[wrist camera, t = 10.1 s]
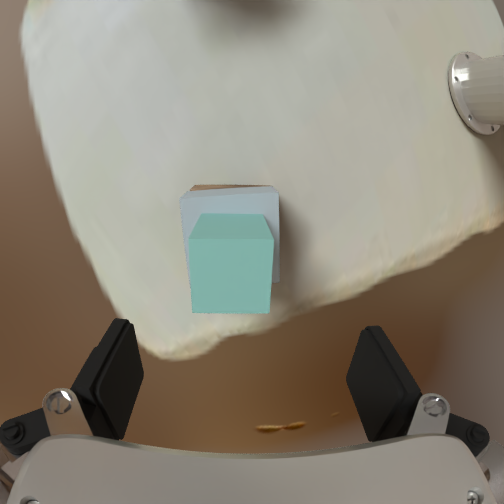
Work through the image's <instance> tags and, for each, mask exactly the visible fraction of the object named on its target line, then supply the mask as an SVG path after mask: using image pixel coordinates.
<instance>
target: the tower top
mask: <svg viewBox="0 0 504 504" xmlns="http://www.w3.org/2000/svg"><path fill="white" fill-rule="evenodd" d="M179 199H180V209H181V219H182V228H183V237H184V245H185V253H186V261H187V269H188V276H189V283H190V266H189V243H188V238H189V236H190V234H191V232H192V230H193V228H194V227H195V225H196V223H197V221H198V219H199V217H200V215H201V213H216V214H263V216H264V218H265V220H266V223H267V225H268V227H269V229H270V232H271V234H272V236H273V238H274V249H273V266H272V282H271V283H279V282H280V245H279V192H278V191H277V190H276V189H275V188H274V187H273V186H262V187H241V188H225V189H210V190H197V191H187V192H186V193H185V194H184V195H183V196H182V197H181V198H179ZM190 288H191V284H190Z"/></svg>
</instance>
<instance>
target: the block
mask: <svg viewBox="0 0 504 504" xmlns="http://www.w3.org/2000/svg"><path fill="white" fill-rule="evenodd" d="M188 243H189V266H190V284H191V299H192V313H269V311H270V297H271V282H272V266H273V249H274V238H273V236H272V234H271V232H270V229H269V227H268V225H267V223H266V220H265V218H264V216H263V214H216V213H201V215H200V217H199V219H198V221H197V223H196V225H195V227H194V228H193V230H192V232H191V234H190V236H189V238H188Z"/></svg>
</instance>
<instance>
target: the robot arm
mask: <svg viewBox="0 0 504 504" xmlns="http://www.w3.org/2000/svg"><path fill="white" fill-rule="evenodd" d="M448 80H449V87H450V92H451V96H452V99H453V101H454V104H455V106H456V109H457V111H458V113H459V114H460V116H461V117H462V119H463V120H464V122H465V123H466V124H467V125H468V126H469V127H470V128H471V129H472V130H473V131H475V132H477V133H479V134H484V135H490V134H493V133H495V132H496V131H497V130H498V129H499V128H500V126H501V125H504V55H502V56H496V57H490V58H485V59H482V58H481V57H480V56H478V55H476V54H474V53H472V52H462V53H459V54H457V55H455V56H454V57H453V59H452V60H451V63H450V66H449V72H448ZM143 376H144V371H143V367H142V363H141V358H140V354H139V350H138V345H137V340H136V335H135V330H134V325H133V324H131V323H130V322H129V320H127V319H118V318H115V319H114V320H113V322H112V323H111V325H110V327H109V328H108V330H107V331H106V333H105V335H104V336H103V338H102V340H101V342H100V343H99V345H98V346H97V347H95V348H94V349H93V351H92V352H91V354H90V355H89V357H88V359H87V361H86V362H85V364H84V366H83V368H82V369H81V371H80V373H79V374H78V376H77V378H76V380H75V382H74V383H73V385H72V387H71V389H70V390H69V389H66V388H58V389H54V390H52V391H50V392H49V393H48V394H47V395H46V396H45V398H44V400H43V408H40V409H38V410H35V411H32V412H30V413H27V414H24V415H21V416H18V417H15V418H12V419H9V420H7V421H5V422H4V423H3V424H2V425H1V427H0V504H504V447H503V446H502V445H500V444H499V443H498V442H496V441H495V440H492V441H489V433H488V431H487V430H486V428H484V427H483V426H482V425H480V424H477V423H475V422H472V421H470V420H467V419H464V418H462V417H459V416H456V415H454V414H451V413H450V406H449V403H448V402H447V400H446V399H445V398H443V397H442V396H440V395H438V394H434V393H428V394H425V395H422V393H421V392H420V391H421V390H420V388H419V387H418V385H417V383H416V382H415V380H414V379H413V377H412V375H411V374H410V372H409V370H408V369H407V367H406V366H405V364H404V362H403V361H402V359H401V358H400V356H399V354H398V353H397V351H396V350H395V348H394V347H393V345H392V344H391V342H390V340H389V339H388V337H387V336H386V334H385V333H384V331H383V330H382V328H381V327H380V326H367V327H366V328H365V329H364V330H362V331H361V333H360V337H359V340H358V343H357V346H356V349H355V352H354V355H353V358H352V361H351V364H350V367H349V370H348V373H347V376H346V381H347V385H348V387H349V390H350V392H351V395H352V397H353V400H354V403H355V406H356V408H357V411H358V414H359V416H360V419H361V422H362V424H363V427H364V430H365V433H366V435H367V438H368V440H369V441H370V442H371V441H372V442H371V443H365V444H360V445H353V446H347V447H341V448H333V449H325V450H316V451H307V452H293V453H275V454H227V453H226V454H225V453H207V452H194V451H184V450H175V449H167V448H160V447H154V446H147V445H141V444H135V443H129V442H124V441H119V439H121V440H122V439H123V438H124V435H125V432H126V429H127V425H128V422H129V419H130V416H131V413H132V410H133V407H134V404H135V401H136V398H137V395H138V392H139V389H140V386H141V383H142V380H143Z"/></svg>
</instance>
